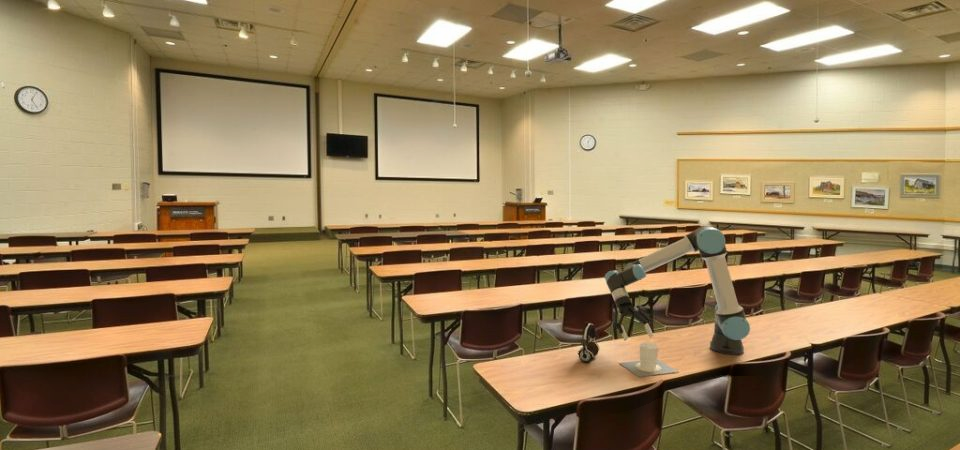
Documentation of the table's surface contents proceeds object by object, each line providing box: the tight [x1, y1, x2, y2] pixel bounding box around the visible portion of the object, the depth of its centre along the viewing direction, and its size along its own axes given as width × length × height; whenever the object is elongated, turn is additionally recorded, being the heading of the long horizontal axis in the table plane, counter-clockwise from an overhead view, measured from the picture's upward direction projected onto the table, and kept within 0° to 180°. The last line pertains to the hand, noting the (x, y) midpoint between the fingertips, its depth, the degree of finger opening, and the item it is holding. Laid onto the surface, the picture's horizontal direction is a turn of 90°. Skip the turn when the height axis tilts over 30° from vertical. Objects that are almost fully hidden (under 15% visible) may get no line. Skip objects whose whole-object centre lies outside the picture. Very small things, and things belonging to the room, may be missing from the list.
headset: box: [577, 321, 600, 363], centre depth 218 cm, size 17×8×20 cm, turn 150°
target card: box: [618, 358, 679, 378], centre depth 208 cm, size 20×16×1 cm
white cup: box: [639, 342, 659, 369], centre depth 208 cm, size 8×8×10 cm
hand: (639, 338), depth 214 cm, fingers open, 13 cm apart
